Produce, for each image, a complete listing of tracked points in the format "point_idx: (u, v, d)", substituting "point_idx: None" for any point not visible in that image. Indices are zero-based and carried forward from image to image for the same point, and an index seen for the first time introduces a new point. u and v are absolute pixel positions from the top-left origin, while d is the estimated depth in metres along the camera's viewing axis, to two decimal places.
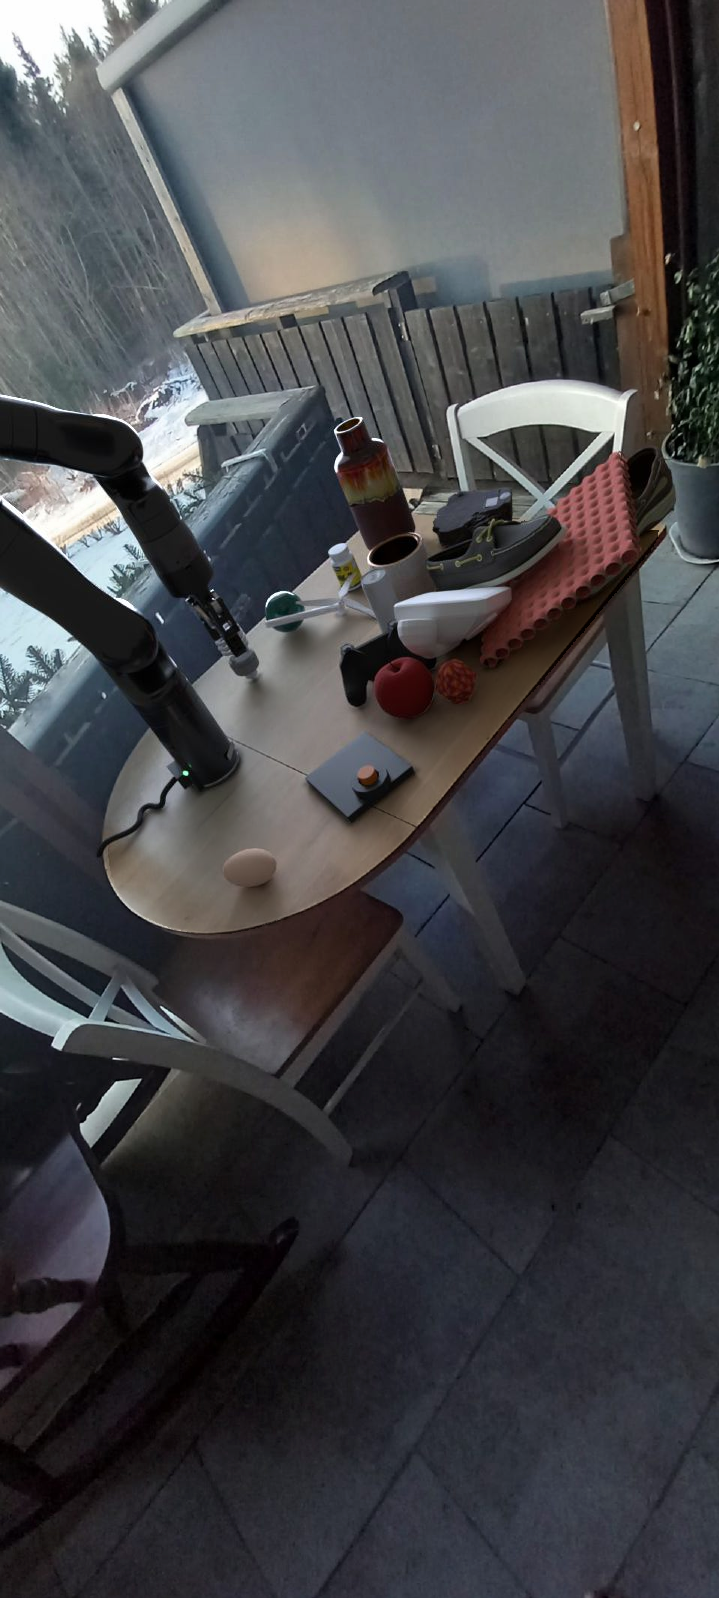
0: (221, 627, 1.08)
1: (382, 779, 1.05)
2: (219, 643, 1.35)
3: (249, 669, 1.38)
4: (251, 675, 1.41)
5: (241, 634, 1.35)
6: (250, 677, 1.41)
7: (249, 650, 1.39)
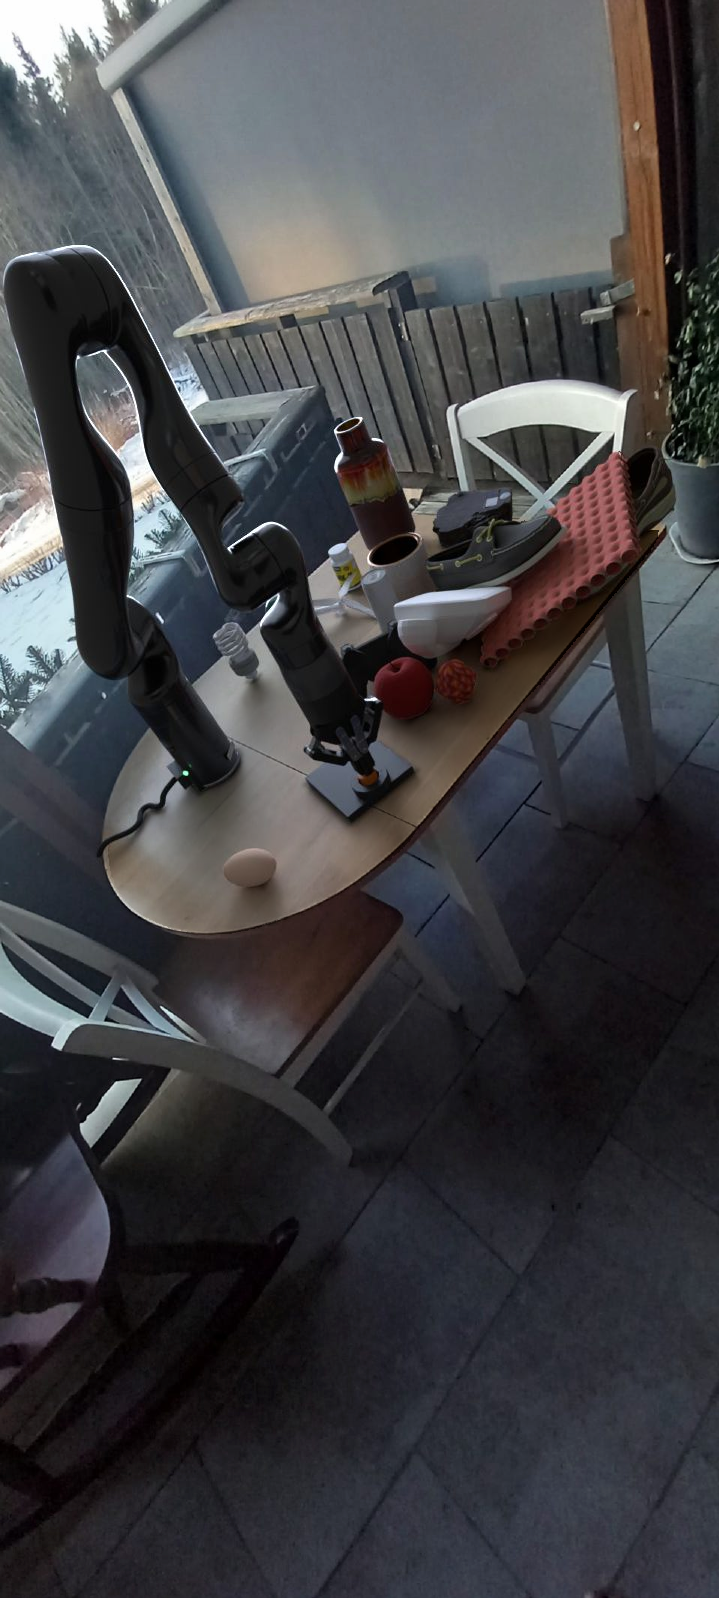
0: None
1: (382, 779, 1.05)
2: (219, 643, 1.35)
3: (249, 669, 1.38)
4: (251, 675, 1.41)
5: (241, 634, 1.35)
6: (250, 677, 1.41)
7: (249, 650, 1.39)
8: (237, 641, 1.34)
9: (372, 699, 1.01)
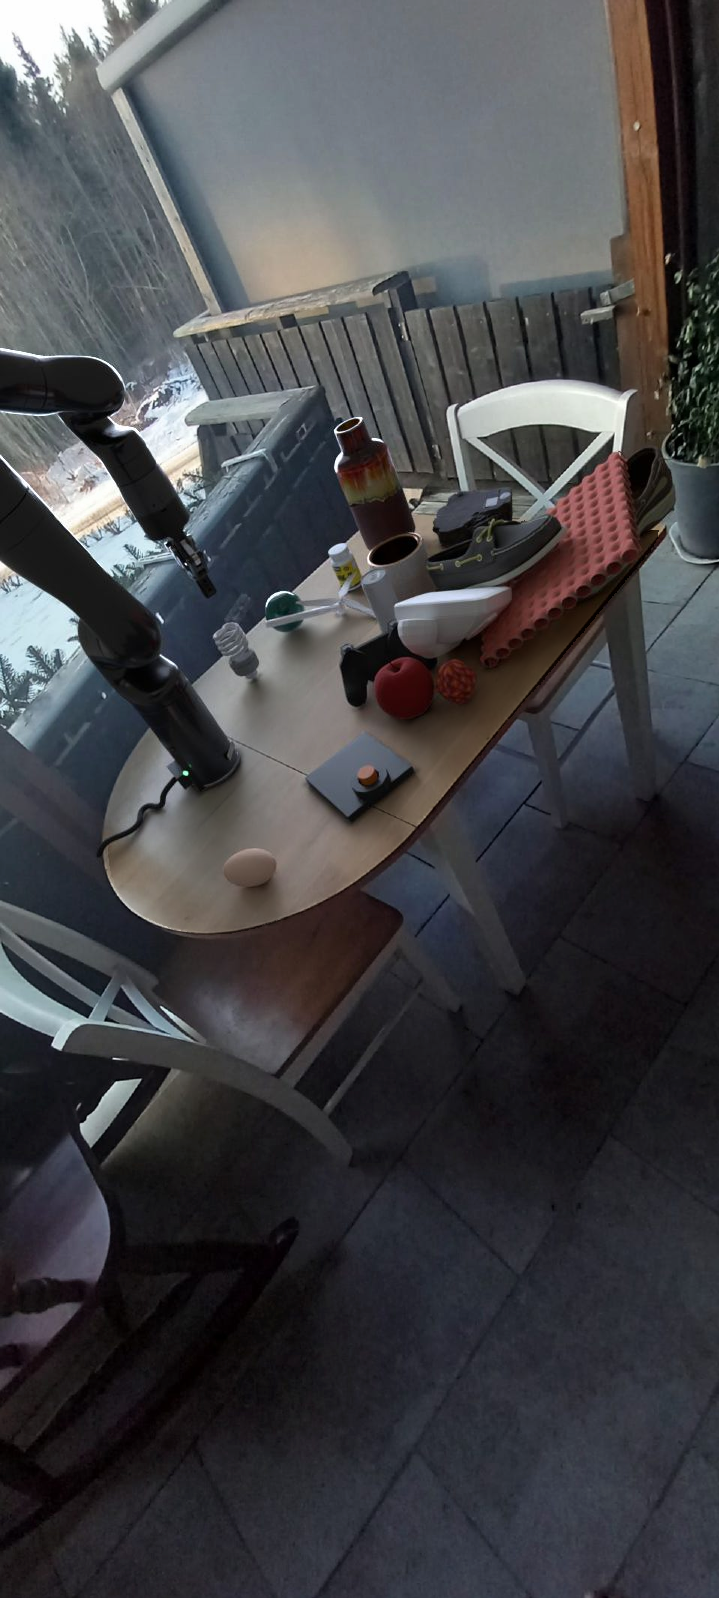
0: (195, 574, 1.18)
1: (382, 779, 1.05)
2: (219, 643, 1.35)
3: (249, 669, 1.38)
4: (251, 675, 1.41)
5: (241, 634, 1.35)
6: (250, 677, 1.41)
7: (249, 650, 1.39)
8: (237, 641, 1.34)
9: None
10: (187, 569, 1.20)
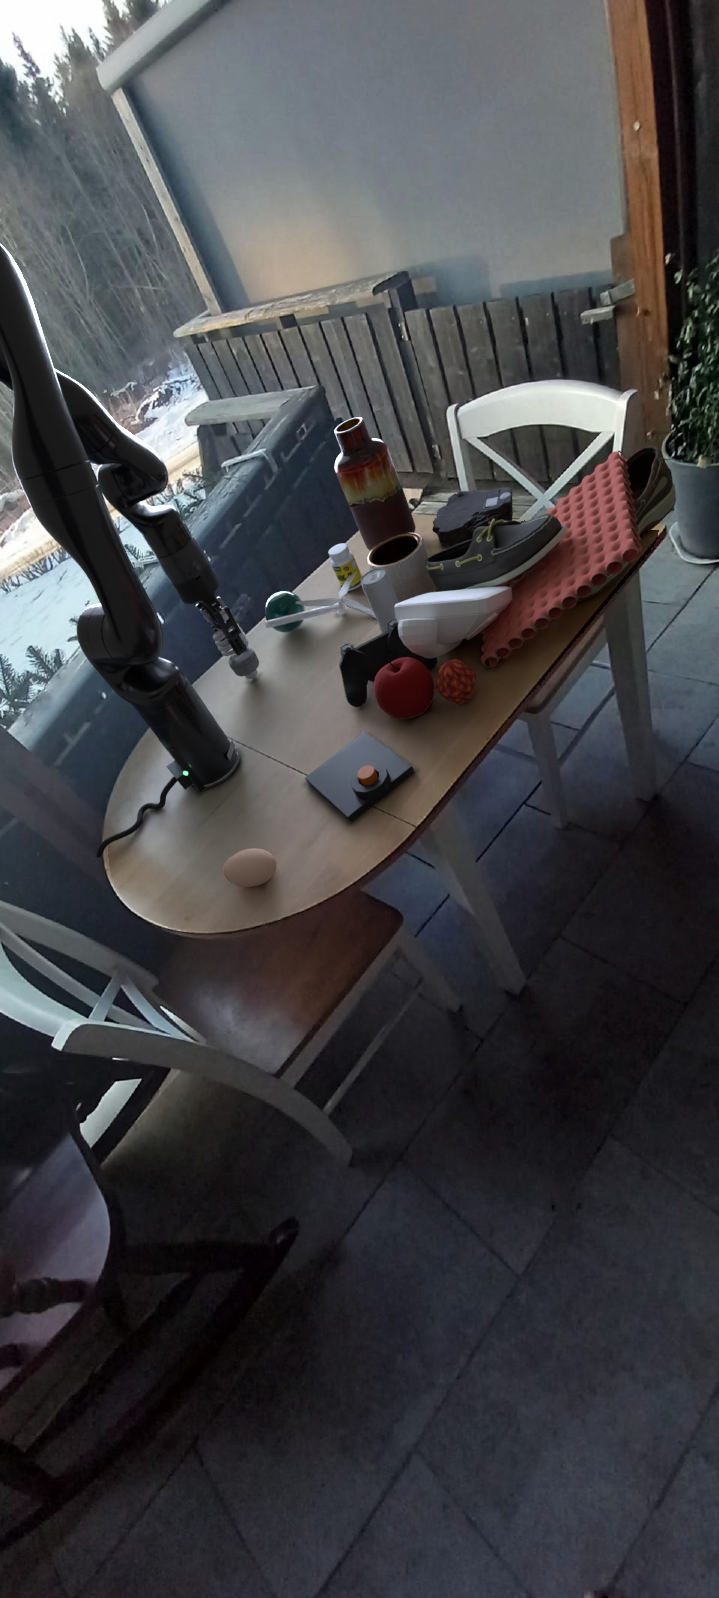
0: (226, 631, 1.29)
1: (382, 779, 1.05)
2: (219, 643, 1.35)
3: (249, 669, 1.38)
4: (251, 675, 1.41)
5: (241, 634, 1.35)
6: (250, 677, 1.41)
7: (249, 650, 1.39)
8: None
9: None
10: (218, 628, 1.31)
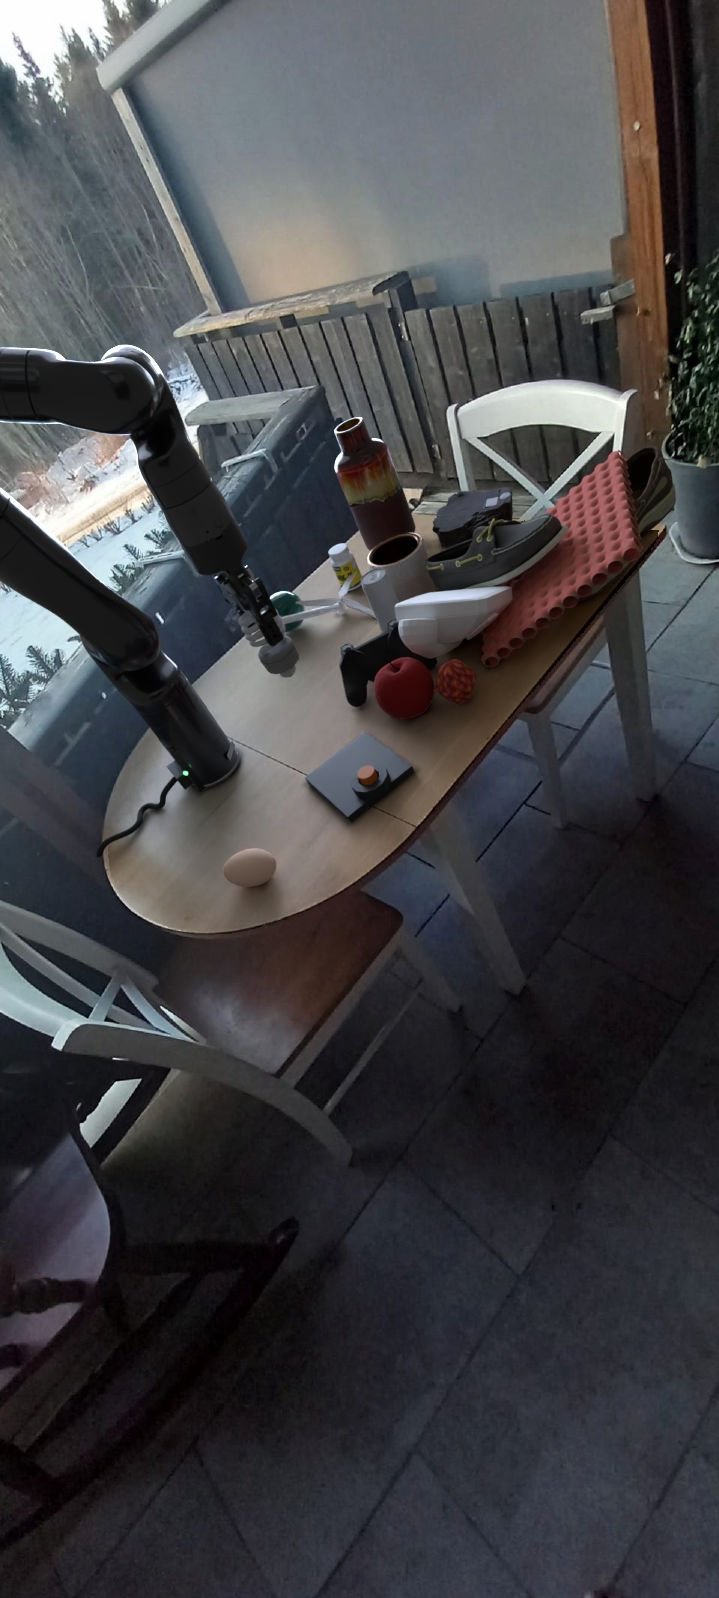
0: (258, 613, 0.93)
1: (382, 779, 1.05)
2: (247, 629, 0.99)
3: (286, 664, 1.03)
4: (288, 672, 1.06)
5: (276, 617, 1.00)
6: (287, 675, 1.06)
7: (286, 639, 1.04)
8: None
9: None
10: (246, 608, 0.95)
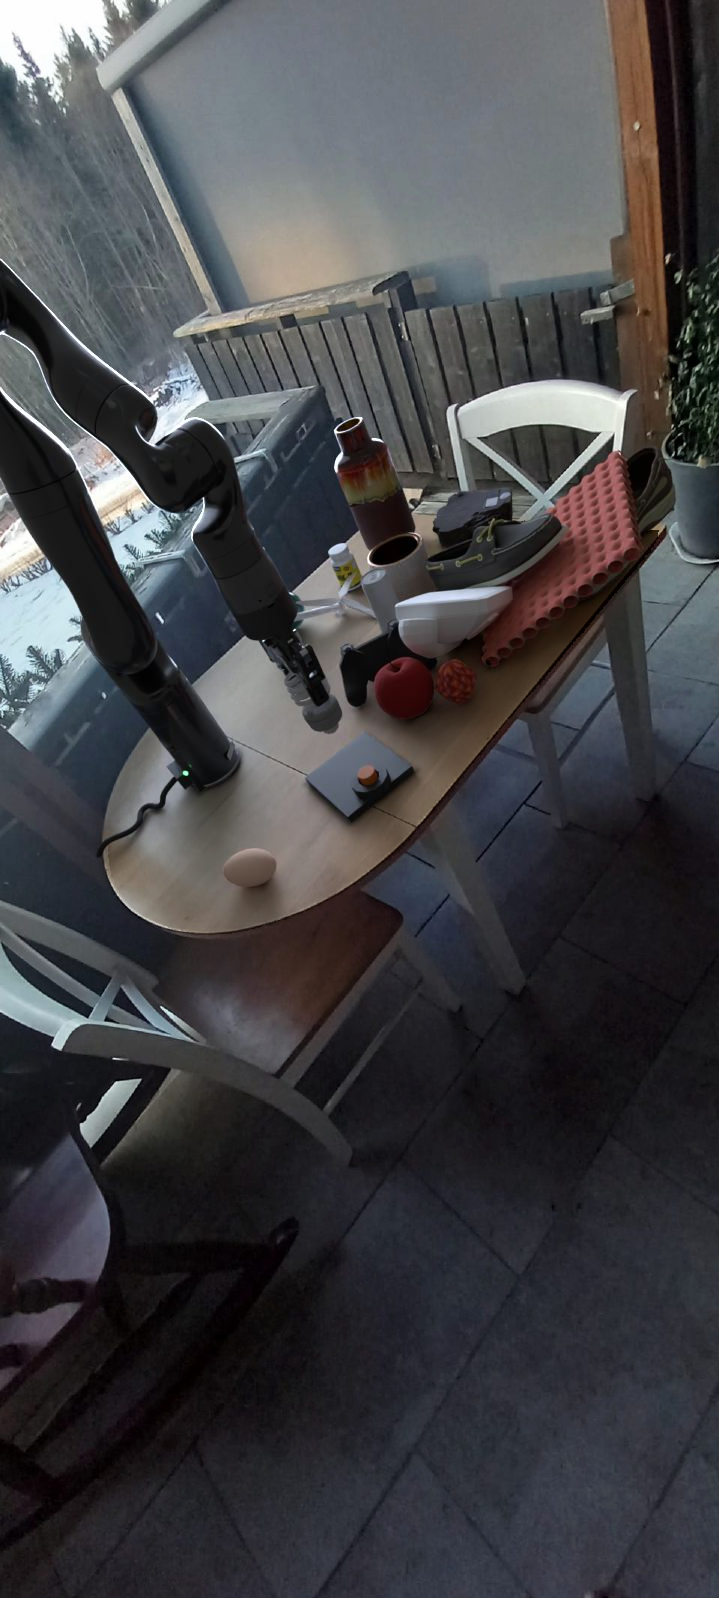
0: (307, 677, 0.94)
1: (382, 779, 1.05)
2: (293, 690, 1.00)
3: (331, 722, 1.04)
4: (331, 729, 1.06)
5: None
6: (330, 732, 1.07)
7: (330, 697, 1.04)
8: None
9: None
10: (294, 672, 0.96)
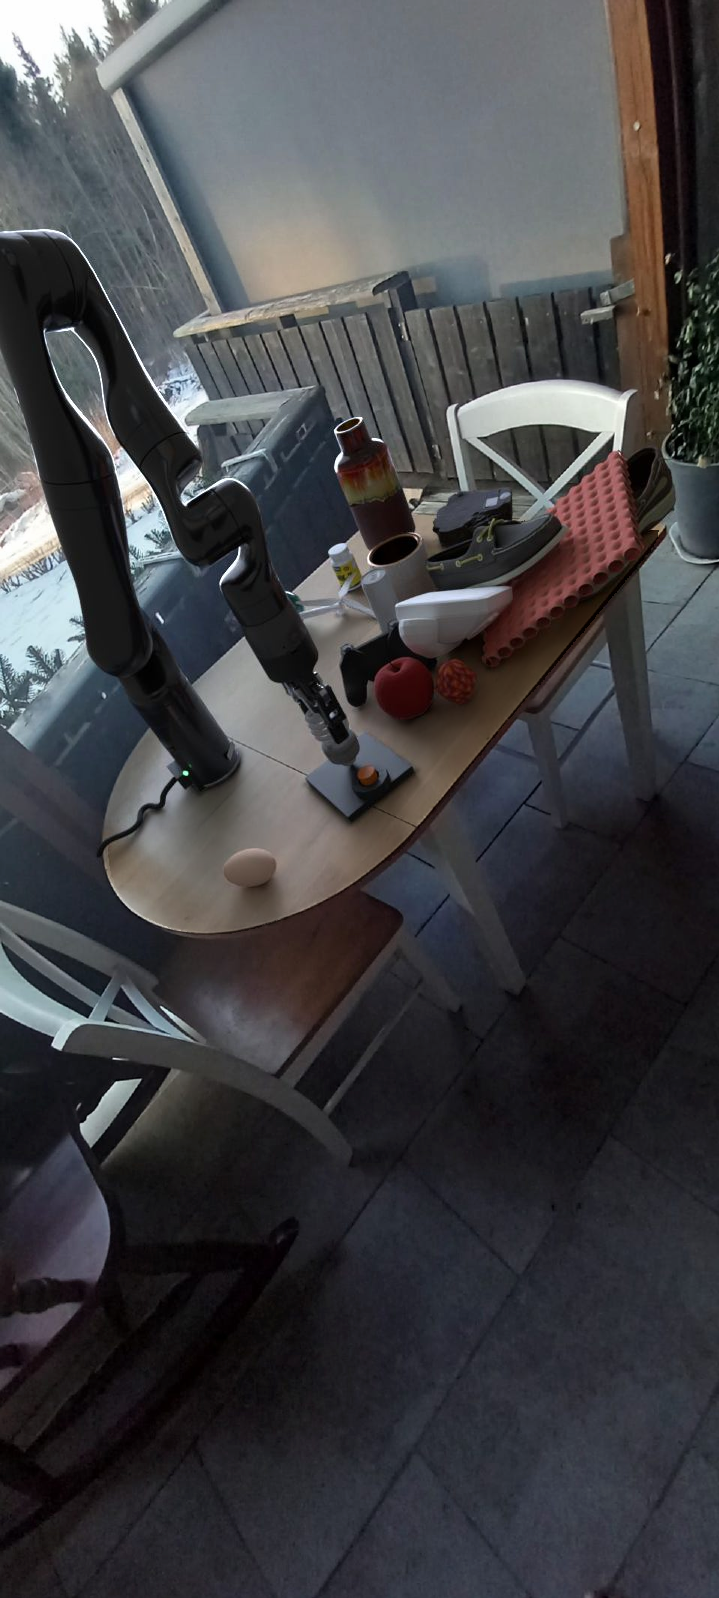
0: (328, 717, 0.97)
1: (382, 779, 1.05)
2: (314, 726, 1.04)
3: (349, 756, 1.08)
4: (349, 762, 1.11)
5: None
6: (348, 765, 1.11)
7: (348, 732, 1.09)
8: None
9: None
10: (315, 711, 1.00)
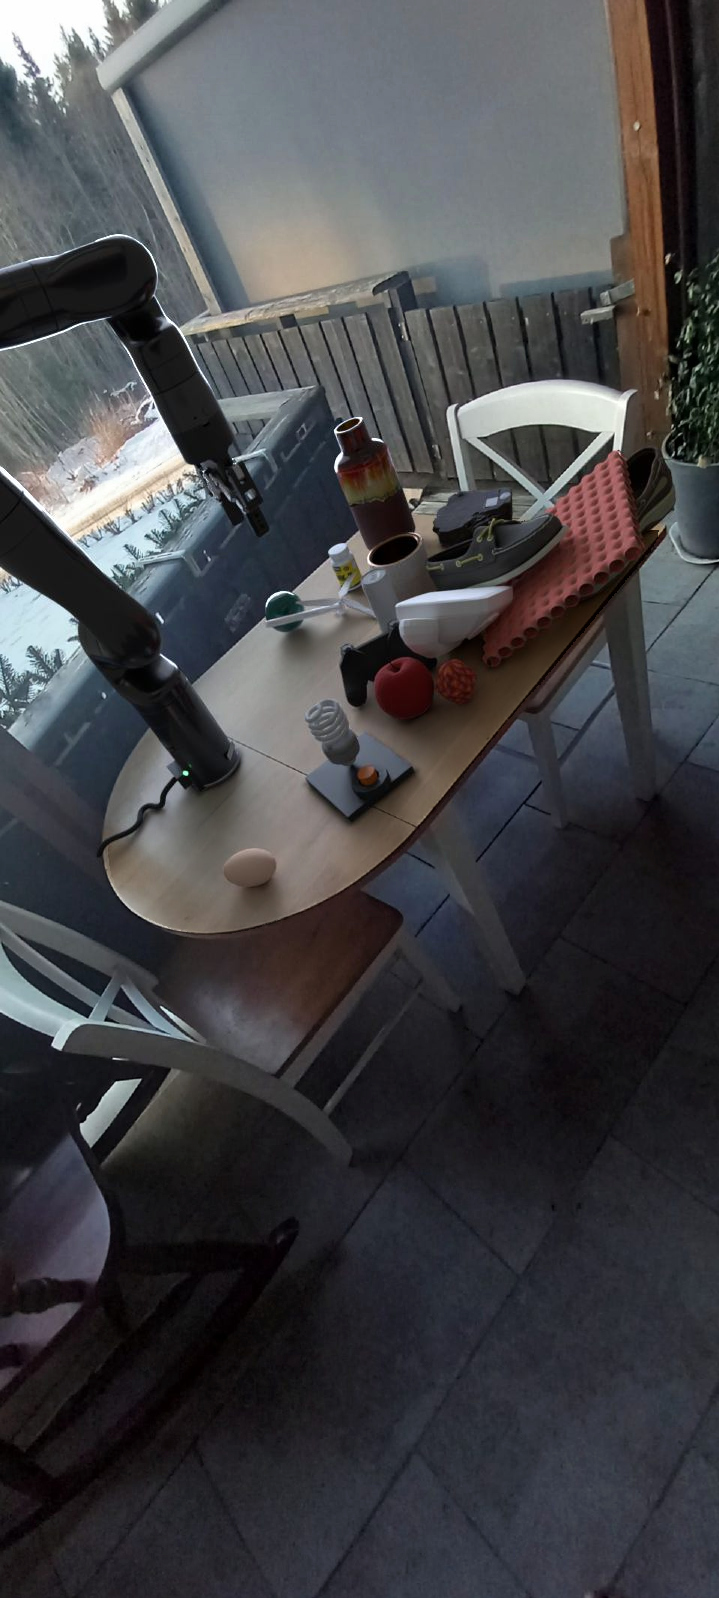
0: (243, 496, 0.98)
1: (382, 779, 1.05)
2: (314, 726, 1.04)
3: (349, 756, 1.08)
4: (349, 762, 1.11)
5: (342, 714, 1.05)
6: (348, 765, 1.11)
7: (348, 732, 1.09)
8: (337, 724, 1.04)
9: None
10: (232, 496, 1.00)
